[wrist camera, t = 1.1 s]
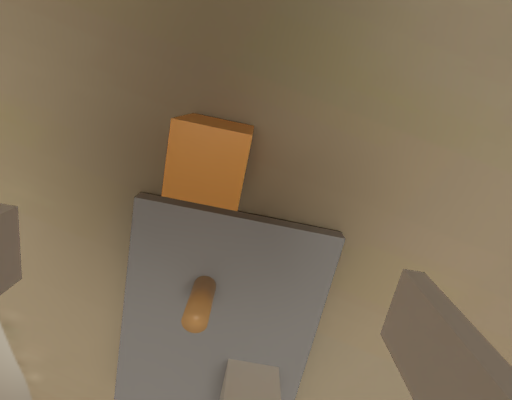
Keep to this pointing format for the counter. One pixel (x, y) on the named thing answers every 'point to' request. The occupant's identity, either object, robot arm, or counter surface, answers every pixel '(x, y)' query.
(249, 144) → the orange rectangular block
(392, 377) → the counter surface
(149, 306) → the plate
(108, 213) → the counter surface
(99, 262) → the counter surface
